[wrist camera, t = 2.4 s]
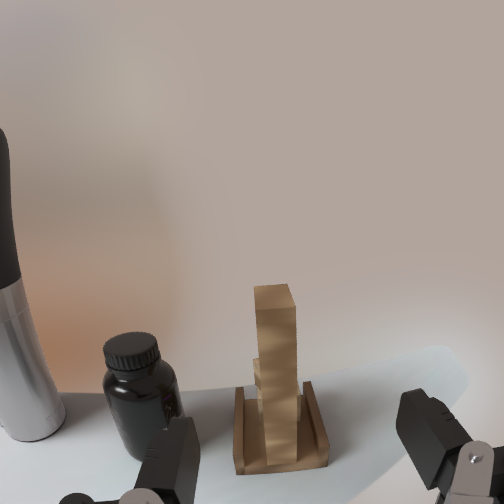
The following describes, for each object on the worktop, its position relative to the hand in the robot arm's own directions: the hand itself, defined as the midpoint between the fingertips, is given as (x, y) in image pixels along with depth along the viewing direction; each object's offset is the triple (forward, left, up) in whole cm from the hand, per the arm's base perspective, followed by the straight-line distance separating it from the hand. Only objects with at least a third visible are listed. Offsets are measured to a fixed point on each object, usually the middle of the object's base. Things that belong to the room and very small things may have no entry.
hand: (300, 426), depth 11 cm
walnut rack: (0, +15, -15) cm, 21 cm away
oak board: (0, +12, -14) cm, 18 cm away
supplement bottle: (-12, +14, -16) cm, 24 cm away
